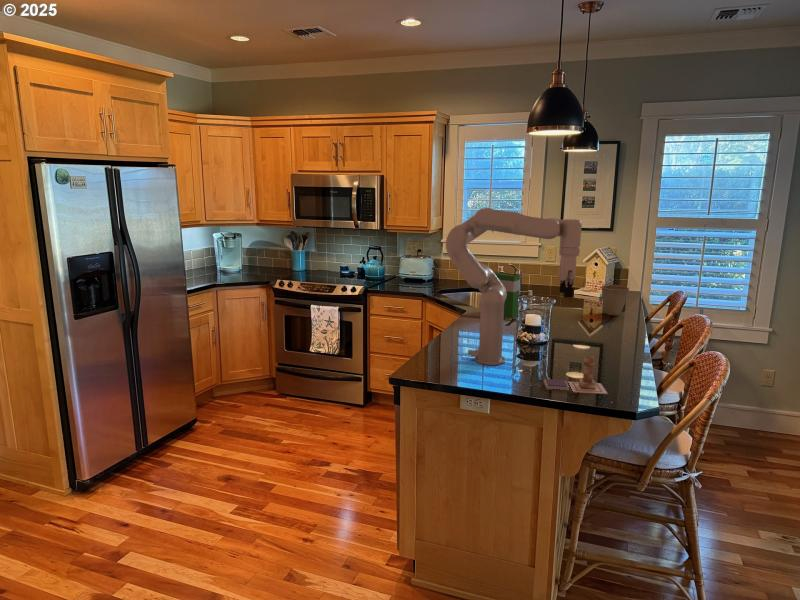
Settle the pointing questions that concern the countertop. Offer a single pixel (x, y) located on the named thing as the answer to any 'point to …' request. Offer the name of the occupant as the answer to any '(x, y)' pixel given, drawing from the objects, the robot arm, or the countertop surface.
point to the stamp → (588, 374)
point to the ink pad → (556, 384)
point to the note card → (576, 388)
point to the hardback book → (510, 292)
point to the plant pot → (614, 298)
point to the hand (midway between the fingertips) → (565, 294)
